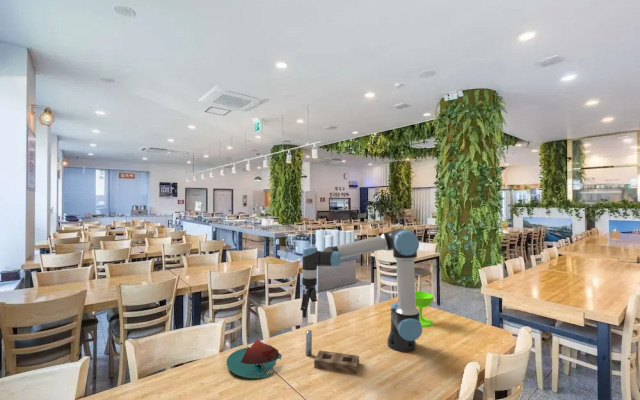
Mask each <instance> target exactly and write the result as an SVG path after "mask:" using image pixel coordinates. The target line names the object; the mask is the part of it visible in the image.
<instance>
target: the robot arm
mask: <svg viewBox="0 0 640 400" xmlns="http://www.w3.org/2000/svg"><path fill="white" fill-rule="evenodd" d="M419 246H420V241H419V239H418V237H417V235H416V234H415V233H414V232H412V231H410V230H407V229H406V228H405V229H404V228H397V229H393V230H390V231H386V232H383V233H382V234H381V235H377V236H374V237H370V238H365V239H361V240H356V241H352V242H348V243H343V244H342V243H341V244H338V245H335V246H327V247H325V248H324V249H323V251H322V250H318V247H317V246H304V248H302V256H301V257H302V269H301V273H302V274H301V275H302V278H301V279H302V280H301V284H302V286H305V288H304V289H303V290H302V298H301V305H300V311H302V312H301V313H302V314H301V318H302V319H301V321H302V322H301V323H302V324H305V325H308V324H309V314H310V315H316V302H318V299H317V298H318V297H317V290H316V286H317V284H318V278H317V277H318V267H339V266H341V260H342V259H345V258H349V257H350V258H351V257H355V256H359V255H364V254H368V253H374V252H378V251H382V250H385V251H391V250H392V257H393V259H395V261H396V277H397V281H396V282H397V284H396V285H397V302H393V303H391V305H390V331H389V335H388V336H387V337H388V338H387V341H386V342H387V346H388V347H389V349H390V348H391V349H392V350H393V351H397V352H404V353H408V352H413V351H415V350H416V349H417V342H416V340H417V339H419V338H420V337H421V336H422V334H423V327H422V325H421V323H420V318H419V308H418V307H416V297H415V291H416V281H415V280H416V279H415V277H416V275H415V260H416V259H417V258H418V250H419ZM309 303H310V304H309ZM309 305H310V306H309ZM308 307H309V310H308Z"/></svg>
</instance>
